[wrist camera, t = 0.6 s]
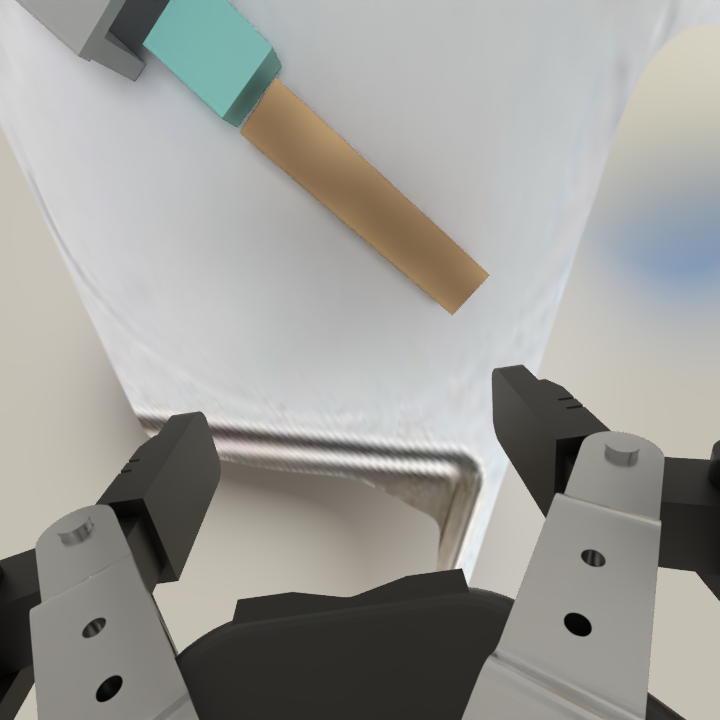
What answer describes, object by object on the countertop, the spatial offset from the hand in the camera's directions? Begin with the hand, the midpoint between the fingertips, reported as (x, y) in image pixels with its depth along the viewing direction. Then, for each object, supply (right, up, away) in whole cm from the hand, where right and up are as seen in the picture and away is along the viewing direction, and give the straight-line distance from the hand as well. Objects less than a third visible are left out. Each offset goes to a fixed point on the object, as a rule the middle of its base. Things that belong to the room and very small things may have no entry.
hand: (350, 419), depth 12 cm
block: (-8, +20, +14) cm, 26 cm away
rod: (+1, +12, +18) cm, 22 cm away
